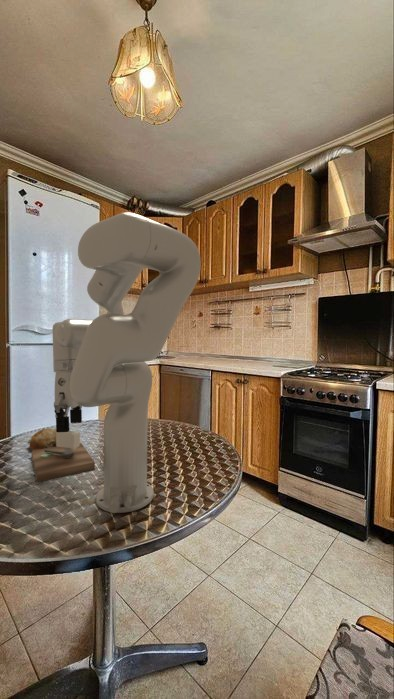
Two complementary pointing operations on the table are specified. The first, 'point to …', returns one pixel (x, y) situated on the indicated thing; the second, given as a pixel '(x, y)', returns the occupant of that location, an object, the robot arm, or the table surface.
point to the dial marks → (48, 454)
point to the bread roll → (43, 439)
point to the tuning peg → (66, 443)
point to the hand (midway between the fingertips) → (69, 427)
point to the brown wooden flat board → (61, 463)
